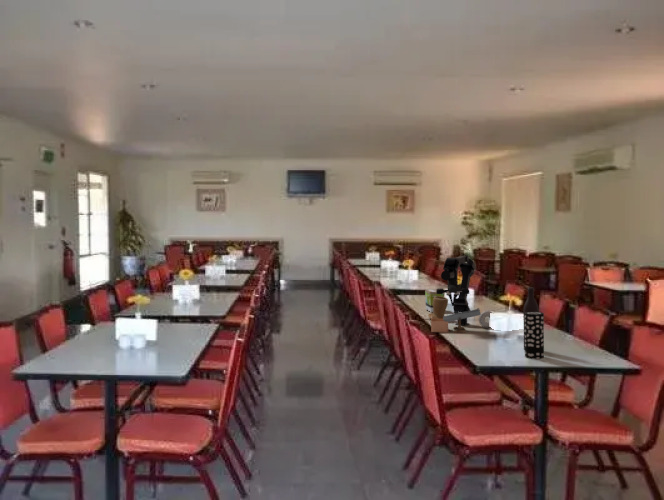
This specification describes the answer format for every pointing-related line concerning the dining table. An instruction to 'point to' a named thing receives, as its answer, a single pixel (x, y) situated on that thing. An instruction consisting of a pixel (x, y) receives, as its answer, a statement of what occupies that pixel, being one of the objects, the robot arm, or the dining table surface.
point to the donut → (482, 318)
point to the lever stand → (459, 327)
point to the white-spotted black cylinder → (534, 335)
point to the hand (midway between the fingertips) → (452, 306)
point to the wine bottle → (530, 306)
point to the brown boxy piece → (439, 325)
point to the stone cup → (439, 307)
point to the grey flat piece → (462, 315)
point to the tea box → (431, 298)
